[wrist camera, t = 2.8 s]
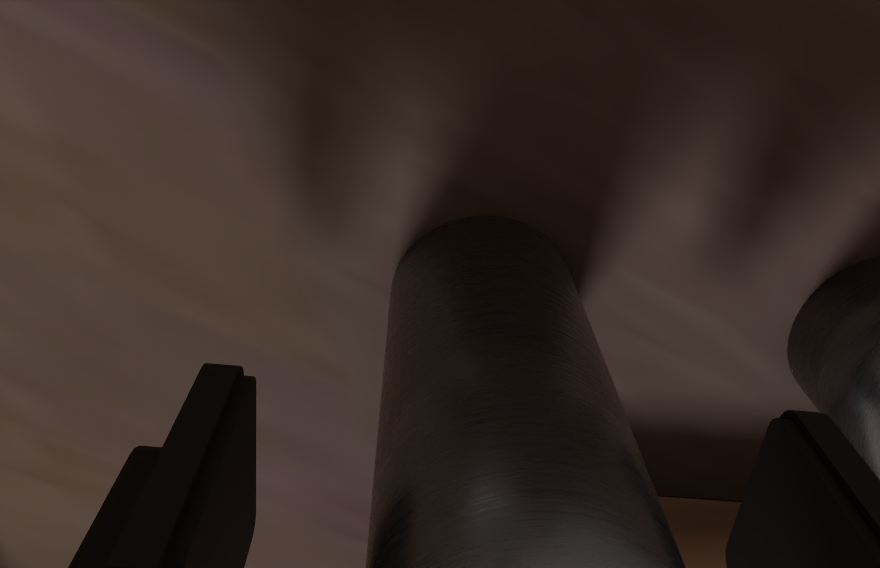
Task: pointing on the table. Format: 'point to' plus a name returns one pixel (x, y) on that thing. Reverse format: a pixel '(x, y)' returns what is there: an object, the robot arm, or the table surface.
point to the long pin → (503, 417)
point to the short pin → (843, 354)
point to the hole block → (700, 529)
